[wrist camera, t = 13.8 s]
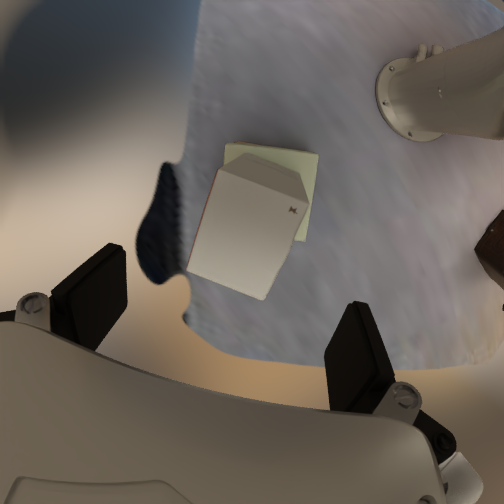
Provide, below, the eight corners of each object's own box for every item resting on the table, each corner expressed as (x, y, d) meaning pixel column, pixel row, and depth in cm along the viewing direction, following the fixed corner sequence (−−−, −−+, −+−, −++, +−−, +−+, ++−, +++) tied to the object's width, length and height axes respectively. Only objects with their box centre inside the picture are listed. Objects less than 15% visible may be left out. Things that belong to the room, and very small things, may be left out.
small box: (245, 151, 28) (217, 165, 16) (301, 173, 29) (313, 203, 17) (221, 217, 32) (183, 272, 20) (272, 238, 32) (265, 303, 20)
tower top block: (231, 142, 32) (225, 143, 28) (314, 152, 31) (318, 154, 28) (225, 220, 36) (219, 230, 32) (302, 229, 35) (305, 241, 32)
